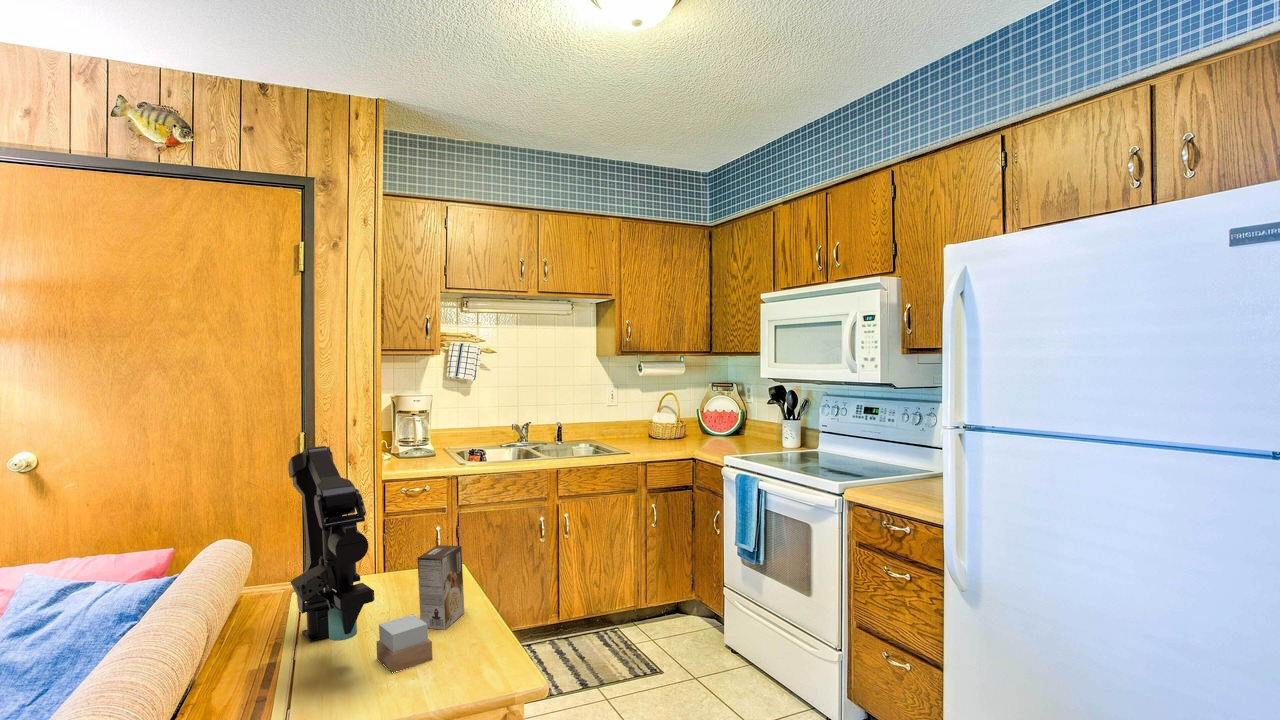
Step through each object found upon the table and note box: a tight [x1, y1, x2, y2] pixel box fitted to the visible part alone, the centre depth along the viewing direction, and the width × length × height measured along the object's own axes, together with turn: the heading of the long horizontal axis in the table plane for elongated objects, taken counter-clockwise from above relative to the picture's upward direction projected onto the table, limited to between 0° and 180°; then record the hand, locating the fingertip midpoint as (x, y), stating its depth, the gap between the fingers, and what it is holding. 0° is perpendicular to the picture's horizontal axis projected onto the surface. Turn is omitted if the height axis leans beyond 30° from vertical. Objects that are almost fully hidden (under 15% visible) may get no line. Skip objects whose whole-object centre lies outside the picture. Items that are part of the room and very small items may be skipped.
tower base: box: [375, 638, 433, 674], centre depth 135 cm, size 8×8×4 cm
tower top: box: [378, 614, 429, 653], centre depth 135 cm, size 7×7×4 cm
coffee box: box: [416, 544, 465, 630], centre depth 153 cm, size 9×6×16 cm
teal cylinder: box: [328, 607, 358, 642], centre depth 132 cm, size 5×5×5 cm
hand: (342, 629), depth 132 cm, fingers closed on teal cylinder, 5 cm apart
